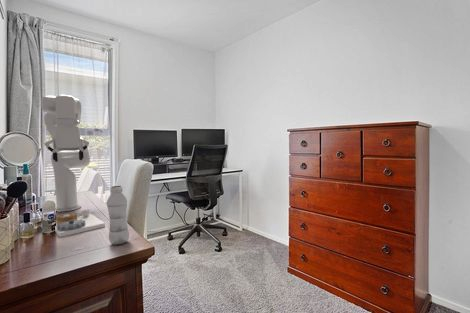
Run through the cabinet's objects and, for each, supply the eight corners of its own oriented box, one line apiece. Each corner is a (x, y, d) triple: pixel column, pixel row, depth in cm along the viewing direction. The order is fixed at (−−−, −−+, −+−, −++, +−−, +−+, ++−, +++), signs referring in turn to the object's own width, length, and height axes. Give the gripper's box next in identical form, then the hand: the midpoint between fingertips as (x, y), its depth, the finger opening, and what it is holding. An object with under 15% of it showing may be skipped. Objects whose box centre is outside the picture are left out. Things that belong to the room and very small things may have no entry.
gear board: (50, 225, 112) (50, 215, 111) (91, 217, 123) (91, 207, 122) (59, 237, 97) (58, 225, 97) (104, 226, 108) (104, 216, 108)
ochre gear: (55, 222, 111) (55, 215, 111) (74, 218, 116) (74, 211, 116) (58, 226, 106) (58, 218, 105) (78, 221, 110) (78, 215, 110)
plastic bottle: (119, 248, 86) (116, 188, 84) (104, 245, 88) (101, 187, 87) (133, 240, 92) (131, 185, 91) (118, 238, 94) (116, 184, 93)
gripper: (85, 123, 125) (87, 158, 127) (41, 123, 113) (44, 161, 115) (90, 123, 120) (92, 159, 121) (44, 122, 108) (46, 162, 109)
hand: (68, 160), depth 118 cm, fingers open, 9 cm apart
